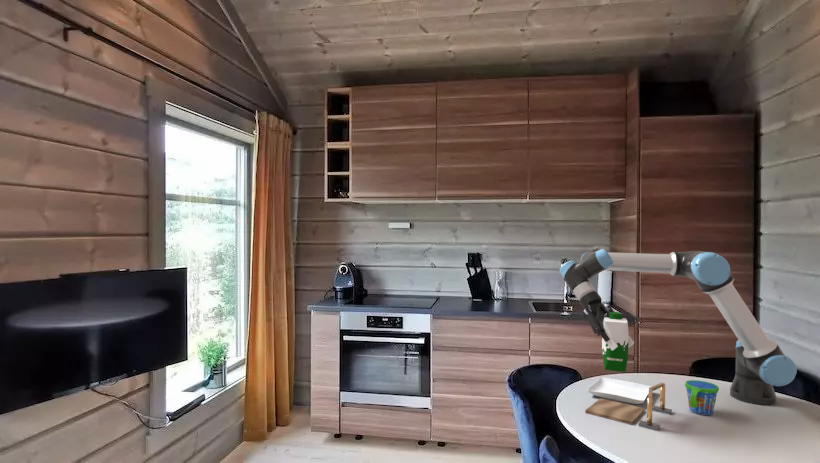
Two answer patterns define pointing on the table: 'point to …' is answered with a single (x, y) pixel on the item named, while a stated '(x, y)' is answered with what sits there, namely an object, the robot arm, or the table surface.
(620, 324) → the soya milk
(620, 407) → the walnut board
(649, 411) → the copper wire
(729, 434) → the table surface
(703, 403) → the snack cup
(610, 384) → the salad plate
